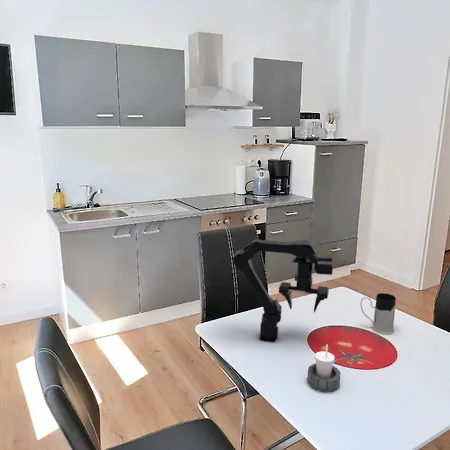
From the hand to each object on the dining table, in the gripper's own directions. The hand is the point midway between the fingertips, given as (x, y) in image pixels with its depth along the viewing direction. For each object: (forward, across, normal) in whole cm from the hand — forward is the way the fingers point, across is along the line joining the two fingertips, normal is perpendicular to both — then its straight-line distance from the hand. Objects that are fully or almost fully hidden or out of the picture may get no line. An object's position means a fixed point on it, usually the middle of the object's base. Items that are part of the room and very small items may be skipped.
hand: (302, 310), depth 160 cm
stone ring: (+13, -11, +26) cm, 31 cm away
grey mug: (+13, -29, -20) cm, 38 cm away
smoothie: (+13, -11, +26) cm, 31 cm away
